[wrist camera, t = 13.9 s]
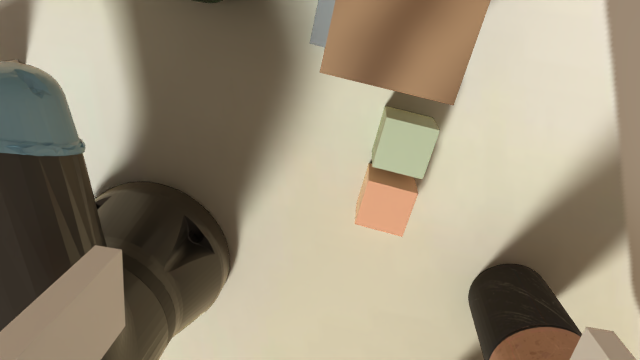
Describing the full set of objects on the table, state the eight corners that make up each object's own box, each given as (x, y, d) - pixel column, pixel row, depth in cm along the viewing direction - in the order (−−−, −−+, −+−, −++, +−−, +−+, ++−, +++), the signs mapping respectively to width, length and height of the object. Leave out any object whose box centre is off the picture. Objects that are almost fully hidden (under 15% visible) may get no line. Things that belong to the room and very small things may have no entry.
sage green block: (371, 150, 36) (372, 166, 32) (385, 105, 34) (386, 117, 31) (417, 161, 36) (422, 179, 32) (432, 117, 34) (439, 130, 31)
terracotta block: (356, 203, 38) (354, 224, 34) (368, 163, 36) (368, 180, 33) (399, 214, 38) (402, 236, 34) (413, 175, 36) (418, 193, 33)
